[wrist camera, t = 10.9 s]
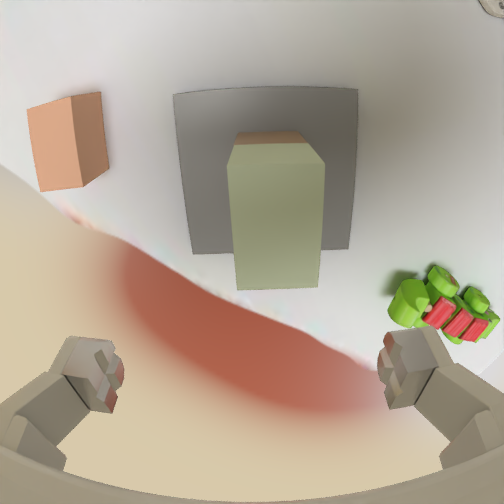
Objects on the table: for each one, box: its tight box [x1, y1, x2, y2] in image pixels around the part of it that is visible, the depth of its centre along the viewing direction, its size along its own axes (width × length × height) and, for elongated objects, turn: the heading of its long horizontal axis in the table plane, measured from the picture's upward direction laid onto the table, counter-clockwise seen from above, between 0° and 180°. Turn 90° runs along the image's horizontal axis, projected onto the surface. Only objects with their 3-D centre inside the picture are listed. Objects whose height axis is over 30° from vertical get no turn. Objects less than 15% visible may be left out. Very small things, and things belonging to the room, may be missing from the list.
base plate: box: [173, 87, 358, 254], centre depth 23 cm, size 14×14×6 cm
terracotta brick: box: [27, 92, 109, 192], centre depth 21 cm, size 4×7×5 cm, turn 1°
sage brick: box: [227, 143, 325, 290], centre depth 18 cm, size 4×7×5 cm, turn 3°
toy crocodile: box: [388, 266, 500, 344], centre depth 30 cm, size 20×7×6 cm, turn 66°
